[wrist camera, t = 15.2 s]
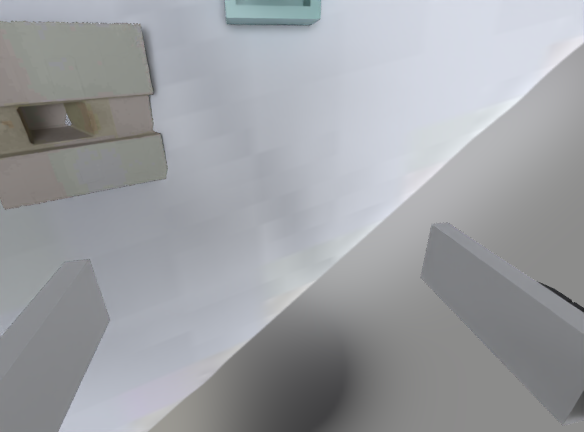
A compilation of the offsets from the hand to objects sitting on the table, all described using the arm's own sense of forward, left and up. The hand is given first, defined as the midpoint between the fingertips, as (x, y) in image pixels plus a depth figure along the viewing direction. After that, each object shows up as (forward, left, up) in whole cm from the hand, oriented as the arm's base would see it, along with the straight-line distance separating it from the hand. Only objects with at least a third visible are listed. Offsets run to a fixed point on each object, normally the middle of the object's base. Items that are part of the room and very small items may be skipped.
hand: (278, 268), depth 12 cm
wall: (-16, +4, -28) cm, 33 cm away
